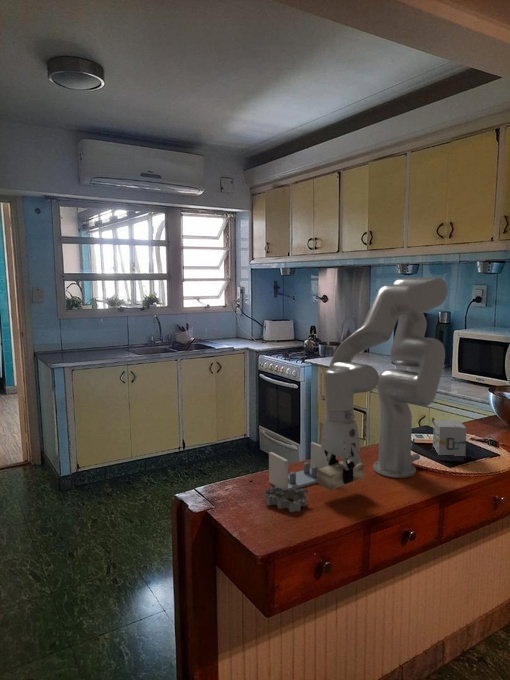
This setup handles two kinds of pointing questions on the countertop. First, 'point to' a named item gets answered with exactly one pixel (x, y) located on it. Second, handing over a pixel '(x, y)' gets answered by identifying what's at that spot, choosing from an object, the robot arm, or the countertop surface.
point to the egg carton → (281, 494)
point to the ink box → (449, 437)
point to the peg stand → (296, 479)
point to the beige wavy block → (337, 475)
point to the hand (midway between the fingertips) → (340, 477)
